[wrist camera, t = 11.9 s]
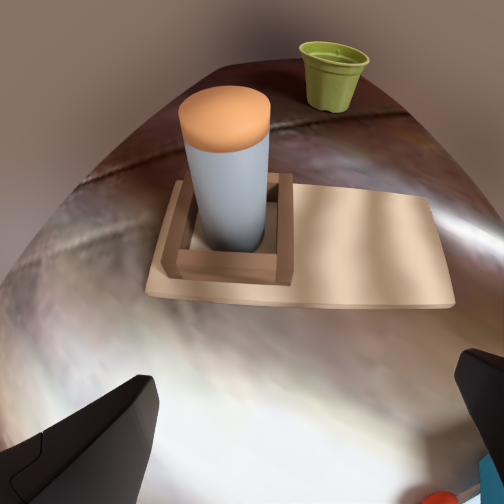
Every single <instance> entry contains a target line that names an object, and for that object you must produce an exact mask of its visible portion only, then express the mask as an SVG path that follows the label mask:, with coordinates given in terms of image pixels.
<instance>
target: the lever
mask: <svg viewBox="0 0 504 504" xmlns="http://www.w3.org/2000/svg"><path fill="white" fill-rule="evenodd" d="M479 470H480V483H478V484H476V485H475V486H473V487H471V488H469V489H468V490H466V491H464V492H462V493H460V494H459V495H457V496H455V495H454V494H452V493H450V492H445V491H443V492H437V493H434V494H432V495H430V496H429V497H427V498H426V499H425V500H424V501H423V502H422V503H421V504H462V503H464V502H466V501H468V500H469V499H471V498H473V497H475V496H476V495H478V494H480V493H481V504H504V487H503V485H502V482H501V480H500V478H499V475H498V473H497V470H496V468H495V466H494V464H493V461H492V459H491V457H490V455H489V453H488V454H487V455H486V456H485V457H484V458H483V459H482V460H481V461H480V462H479Z"/></svg>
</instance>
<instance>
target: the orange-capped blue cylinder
mask: <svg viewBox="0 0 504 504" xmlns="http://www.w3.org/2000/svg"><path fill="white" fill-rule="evenodd" d="M179 118H180V123H181V128H182V134H183V139H184V144H185V149H186V153H187V158H188V163H189V168H190V173H191V177H192V182H193V187H194V191H195V196H196V200H197V205H198V209H199V213H200V218H201V222H202V226H203V231H204V235H205V239H206V242H207V244H208V246H209V247H210V248H211V250H213V251H222V252H240V253H253V252H254V251H255V250H257V249H258V248H259V246H260V245H261V244H262V242H263V239H264V235H265V217H266V196H267V174H268V151H269V126H270V102H269V99H268V98H267V97H266V96H265V95H264V94H262V93H261V92H259V91H256V90H254V89H251V88H247V87H241V86H220V87H213V88H209V89H205V90H202V91H200V92H197V93H195V94H193V95H191V96H190V97H188V98H187V99H186V100H185V101H184V102H183V103H182V104H181V106H180V107H179Z"/></svg>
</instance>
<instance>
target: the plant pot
mask: <svg viewBox="0 0 504 504" xmlns="http://www.w3.org/2000/svg"><path fill="white" fill-rule="evenodd" d="M299 50H300V52H301V53H302V56H303V61H304V62H305V74H306V89H307V101H308V103H309V104H310V105H311V106H312V107H314V108H316V109H318V110H321V111H322V110H328V111H330V112H332V113H339V112H343V111H345V110H347V109H348V106H349V104H350V101H351V98H352V95H353V93H354V90H355V87H356V84H357V82H358V79H359V76H360V73H361V72H362V71H363V69H364V67H365V65H367V64H368V63H369V58H368V57H367V56H366V55H365V54H364V53H362V52H360V51H358V50H356V49H354V48H351V47H348V46H345V45H341V44H335V43H330V42H307V43H304V44H302V45H300V46H299Z"/></svg>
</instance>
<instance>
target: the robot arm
mask: <svg viewBox="0 0 504 504" xmlns="http://www.w3.org/2000/svg"><path fill="white" fill-rule="evenodd" d="M454 378H455V381H456V383H457V386H458V388H459V390H460V392H461V395H462V397H463V399H464V402H465V404H466V407H467V409H468V411H469V414H470V416H471V418H472V420H473V422H474V424H475V426H476V428H477V430H478V432H479V434H480V436H481V438H482V440H483V442H484V444H485V446H486V448H487V450H488V453H489V455H490V457H491V459H492V461H493V464H494V466H495V468H496V470H497V473H498V475H499V478H500V480H501V482H502V485H503V487H504V357H501V356H497V355H494V354H491V353H488V352H485V351H481V350H478V349H475V348H470V349H467V350H464V351H462V353H461V355H460V358H459V361H458V364H457V367H456V369H455V373H454ZM158 410H159V397H158V393H157V389H156V385H155V381H154V379H153V377H152V376H149V375H136V376H135V377H133V378H131V379H130V380H128V381H127V382H125V383H123V384H122V385H120V386H118V387H117V388H115V389H114V390H112V391H110V392H109V393H107V394H105V395H104V396H102V397H100V398H99V399H97V400H96V401H94V402H92V403H90V404H89V405H87V406H85V407H84V408H82V409H80V410H79V411H77V412H75V413H74V414H72V415H70V416H68V417H67V418H65V419H63V420H61V421H60V422H58V423H56V424H54V425H53V426H51V427H49V428H47V429H46V430H44V431H43V433H42V432H40V433H38V434H37V435H35V436H33V437H31V438H29V439H27V440H25V441H23V442H21V443H19V444H17V445H15V446H13V447H11V448H9V449H6V450H4V451H2V452H0V504H136V501H137V498H138V494H139V491H140V487H141V484H142V480H143V477H144V474H145V470H146V467H147V464H148V461H149V457H150V454H151V449H152V444H153V438H154V432H155V427H156V421H157V416H158Z"/></svg>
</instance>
